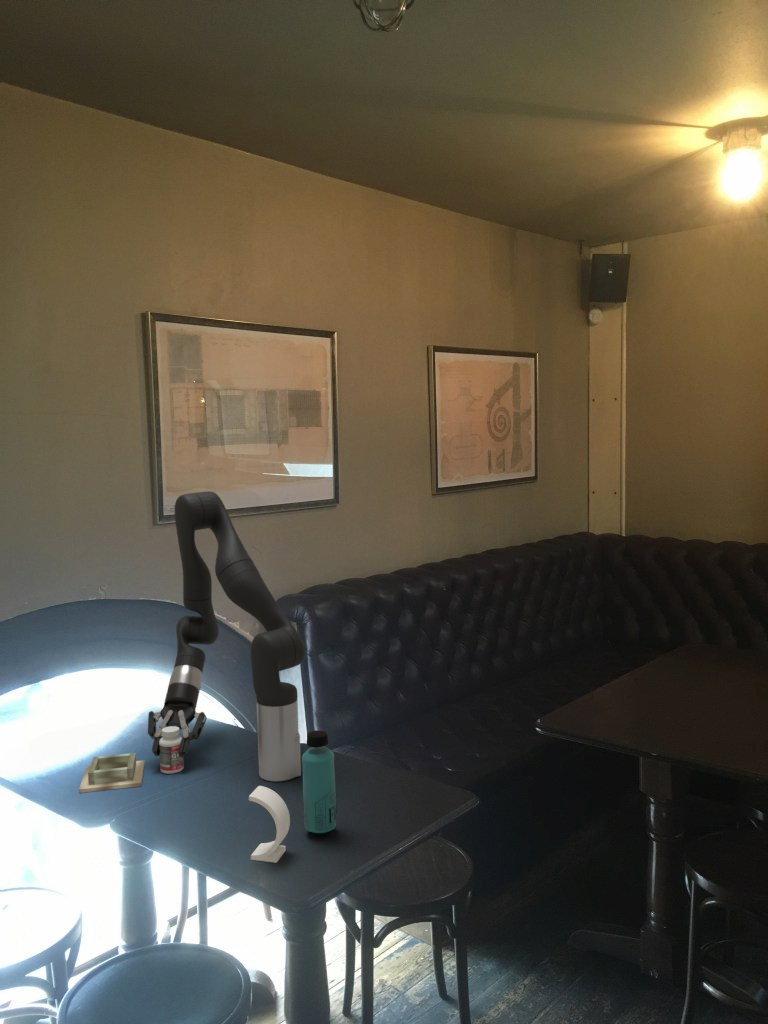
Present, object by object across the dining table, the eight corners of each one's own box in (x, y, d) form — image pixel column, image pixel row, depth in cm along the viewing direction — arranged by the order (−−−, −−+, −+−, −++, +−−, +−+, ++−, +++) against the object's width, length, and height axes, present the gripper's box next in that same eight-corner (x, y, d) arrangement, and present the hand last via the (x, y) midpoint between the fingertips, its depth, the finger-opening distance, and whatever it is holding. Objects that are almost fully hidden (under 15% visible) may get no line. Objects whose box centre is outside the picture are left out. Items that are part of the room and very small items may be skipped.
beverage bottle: (332, 842, 153) (329, 740, 151) (298, 839, 154) (295, 738, 152) (341, 826, 159) (338, 727, 157) (308, 823, 160) (306, 725, 159)
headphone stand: (260, 847, 152) (258, 785, 150) (291, 850, 150) (289, 788, 149) (250, 859, 147) (248, 796, 146) (281, 863, 146) (279, 799, 145)
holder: (144, 763, 192) (144, 749, 192) (141, 786, 179) (140, 770, 179) (87, 769, 189) (86, 754, 189) (79, 792, 177) (78, 777, 176)
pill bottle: (176, 775, 185) (174, 734, 184) (155, 773, 186) (153, 732, 185) (188, 766, 190) (186, 725, 189) (168, 763, 191) (166, 723, 191)
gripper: (150, 680, 194) (133, 748, 184) (209, 681, 193) (195, 749, 182) (159, 695, 200) (143, 761, 189) (216, 695, 199) (203, 762, 188)
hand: (168, 755), depth 186 cm, fingers closed on pill bottle, 5 cm apart
